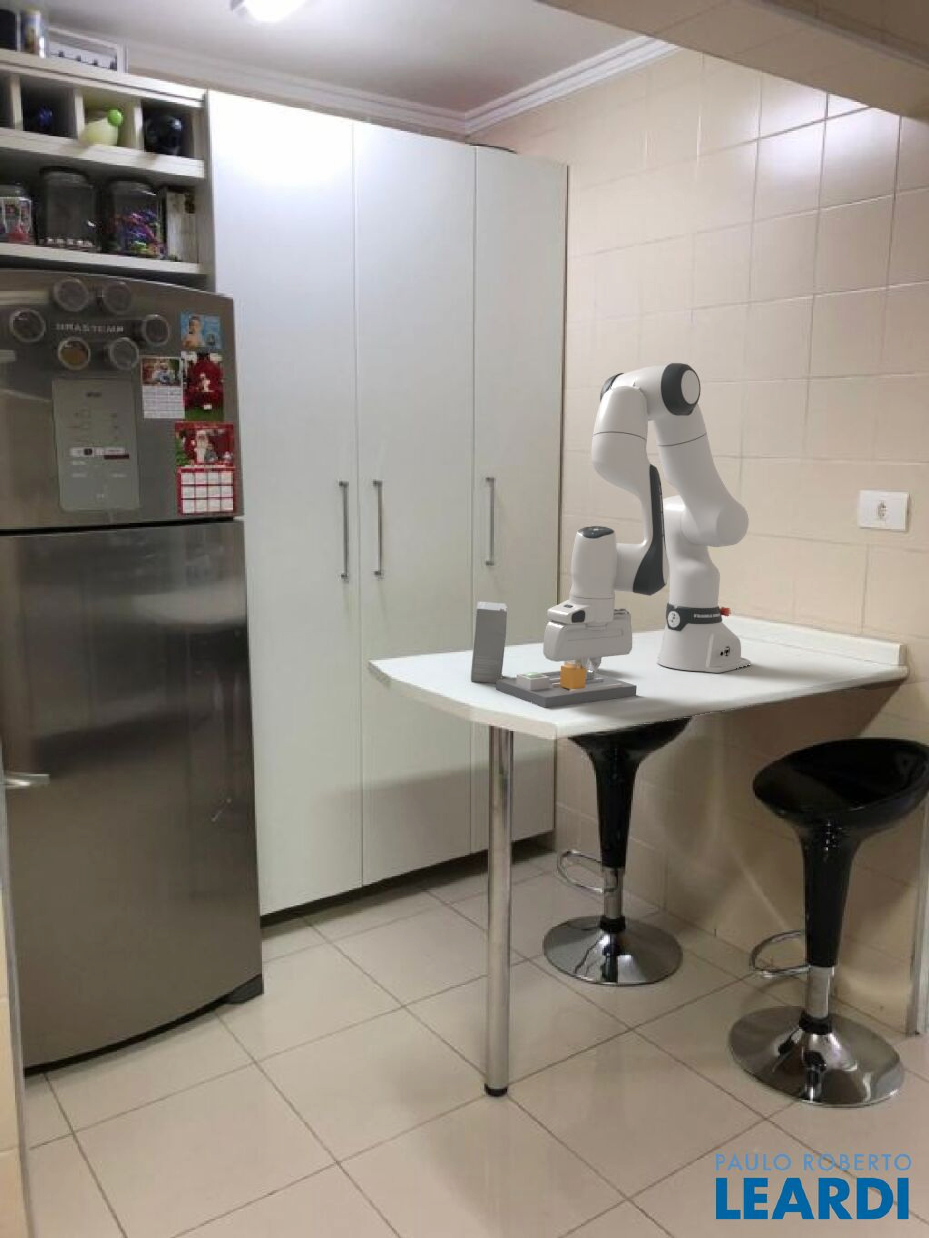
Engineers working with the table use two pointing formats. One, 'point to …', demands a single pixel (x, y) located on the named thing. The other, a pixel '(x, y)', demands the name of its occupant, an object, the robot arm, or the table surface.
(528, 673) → the button
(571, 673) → the slider
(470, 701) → the table surface
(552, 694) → the panel
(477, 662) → the skincare box
